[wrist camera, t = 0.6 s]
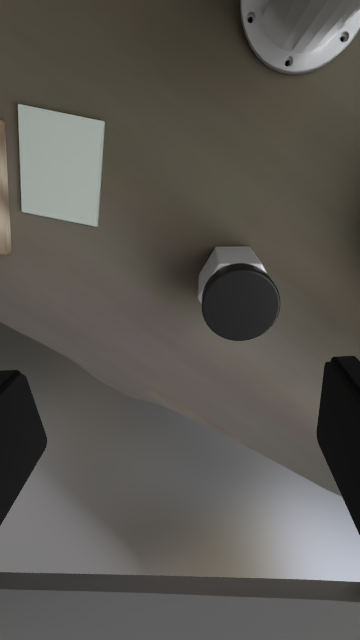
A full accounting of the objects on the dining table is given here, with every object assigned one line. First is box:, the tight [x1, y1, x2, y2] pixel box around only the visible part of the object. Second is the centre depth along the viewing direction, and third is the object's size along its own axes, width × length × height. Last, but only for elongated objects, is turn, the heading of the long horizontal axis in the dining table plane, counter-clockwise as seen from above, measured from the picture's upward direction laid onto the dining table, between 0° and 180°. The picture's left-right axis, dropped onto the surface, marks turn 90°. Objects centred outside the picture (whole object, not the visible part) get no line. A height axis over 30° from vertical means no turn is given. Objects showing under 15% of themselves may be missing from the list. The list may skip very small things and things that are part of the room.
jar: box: [198, 246, 280, 341], centre depth 37 cm, size 9×8×12 cm
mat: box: [18, 104, 105, 227], centre depth 38 cm, size 12×10×1 cm
